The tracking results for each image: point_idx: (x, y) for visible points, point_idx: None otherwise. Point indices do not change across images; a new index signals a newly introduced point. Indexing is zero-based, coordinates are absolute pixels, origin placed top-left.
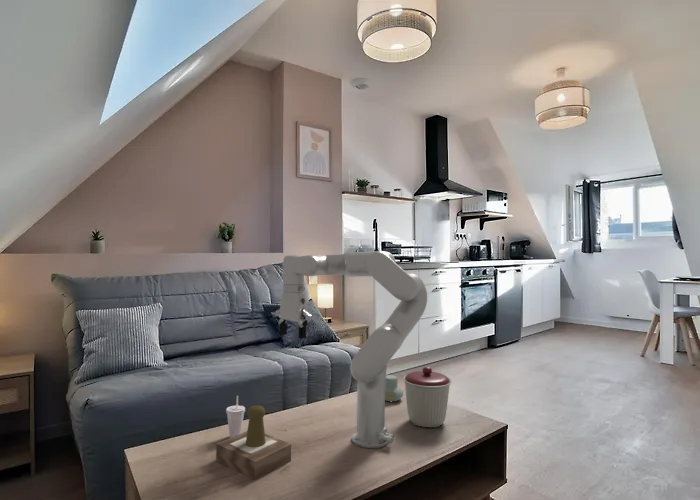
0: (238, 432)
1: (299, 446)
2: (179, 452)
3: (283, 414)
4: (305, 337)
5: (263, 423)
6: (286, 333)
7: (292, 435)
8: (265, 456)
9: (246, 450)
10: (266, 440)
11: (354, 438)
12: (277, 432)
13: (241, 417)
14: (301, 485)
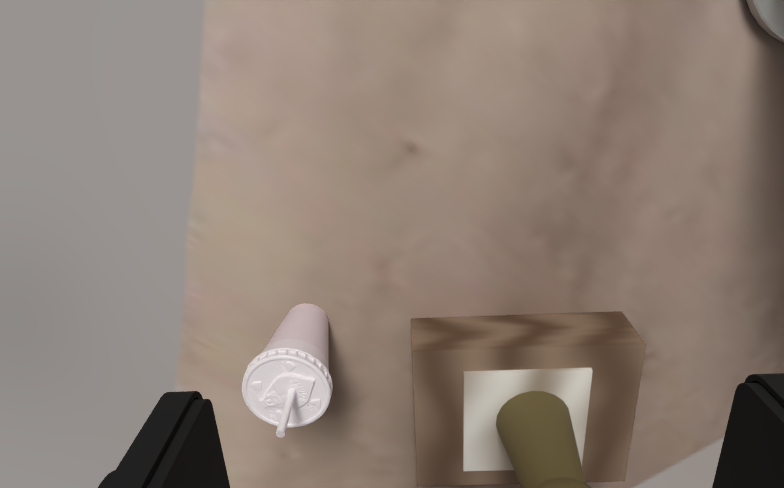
0: (328, 337)
1: (574, 219)
2: (284, 480)
3: (243, 17)
4: (777, 377)
5: (578, 462)
6: (209, 409)
7: (477, 167)
8: (628, 447)
9: None
10: (550, 388)
11: (780, 23)
12: (402, 190)
13: (327, 365)
14: None
